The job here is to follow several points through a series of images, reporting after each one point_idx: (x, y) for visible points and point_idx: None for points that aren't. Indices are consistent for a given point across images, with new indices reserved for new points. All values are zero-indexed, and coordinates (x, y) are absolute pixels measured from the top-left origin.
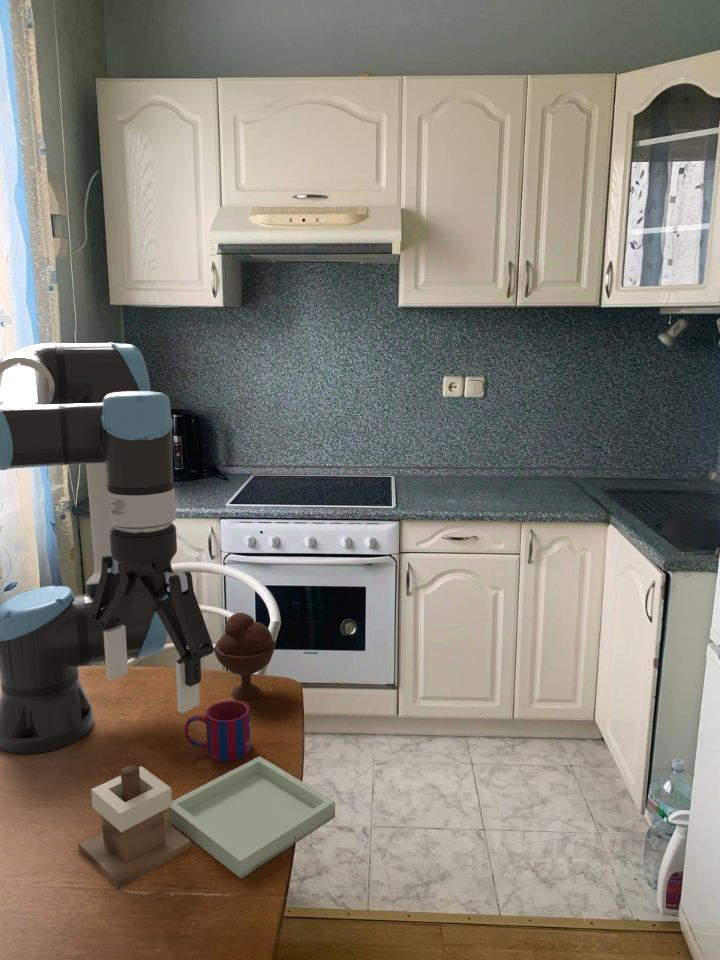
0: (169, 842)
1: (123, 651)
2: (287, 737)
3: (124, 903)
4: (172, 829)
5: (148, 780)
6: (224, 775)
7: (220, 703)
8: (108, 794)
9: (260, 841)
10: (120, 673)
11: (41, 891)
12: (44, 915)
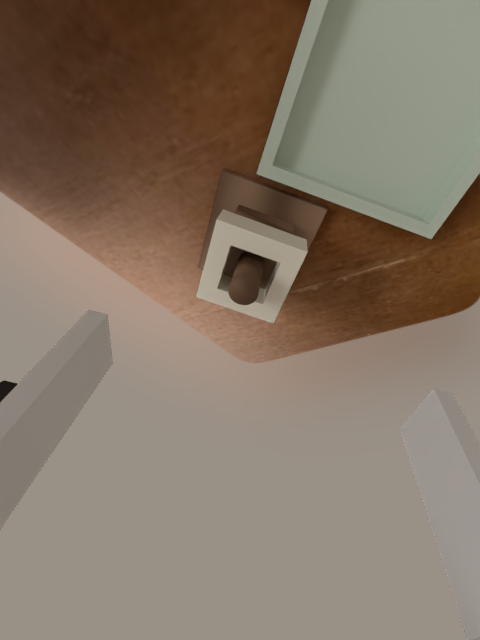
0: (301, 224)
1: (60, 385)
2: None
3: (303, 304)
4: (288, 199)
5: (257, 249)
6: (307, 26)
7: None
8: (227, 297)
9: (452, 189)
10: (104, 341)
11: (217, 317)
12: (243, 335)
